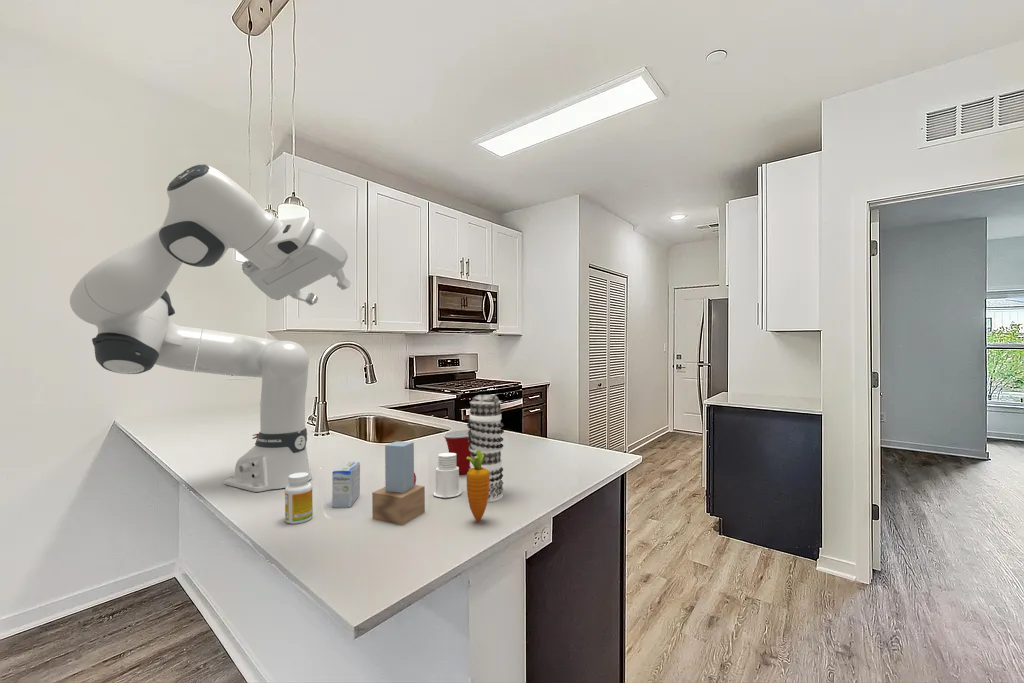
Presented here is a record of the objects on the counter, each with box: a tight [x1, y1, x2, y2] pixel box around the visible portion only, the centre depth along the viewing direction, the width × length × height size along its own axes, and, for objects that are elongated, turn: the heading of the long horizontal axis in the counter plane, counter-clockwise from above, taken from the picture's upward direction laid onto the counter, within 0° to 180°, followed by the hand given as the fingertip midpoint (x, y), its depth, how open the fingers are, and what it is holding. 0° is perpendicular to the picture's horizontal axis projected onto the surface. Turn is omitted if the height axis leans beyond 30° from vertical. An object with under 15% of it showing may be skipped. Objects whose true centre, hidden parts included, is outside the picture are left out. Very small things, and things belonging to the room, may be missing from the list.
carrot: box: [466, 450, 490, 523], centre depth 95 cm, size 5×5×15 cm
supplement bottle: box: [284, 472, 314, 525], centre depth 97 cm, size 5×5×10 cm
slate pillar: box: [384, 440, 415, 493], centre depth 99 cm, size 4×4×10 cm
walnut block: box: [371, 484, 426, 527], centre depth 99 cm, size 8×8×6 cm
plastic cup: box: [442, 428, 471, 476], centre depth 131 cm, size 11×11×12 cm
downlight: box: [432, 452, 462, 499], centre depth 112 cm, size 8×7×10 cm
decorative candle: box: [466, 394, 505, 503], centre depth 110 cm, size 9×9×25 cm
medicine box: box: [331, 461, 361, 508], centre depth 107 cm, size 8×4×9 cm, turn 5°
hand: (330, 294), depth 89 cm, fingers open, 8 cm apart
